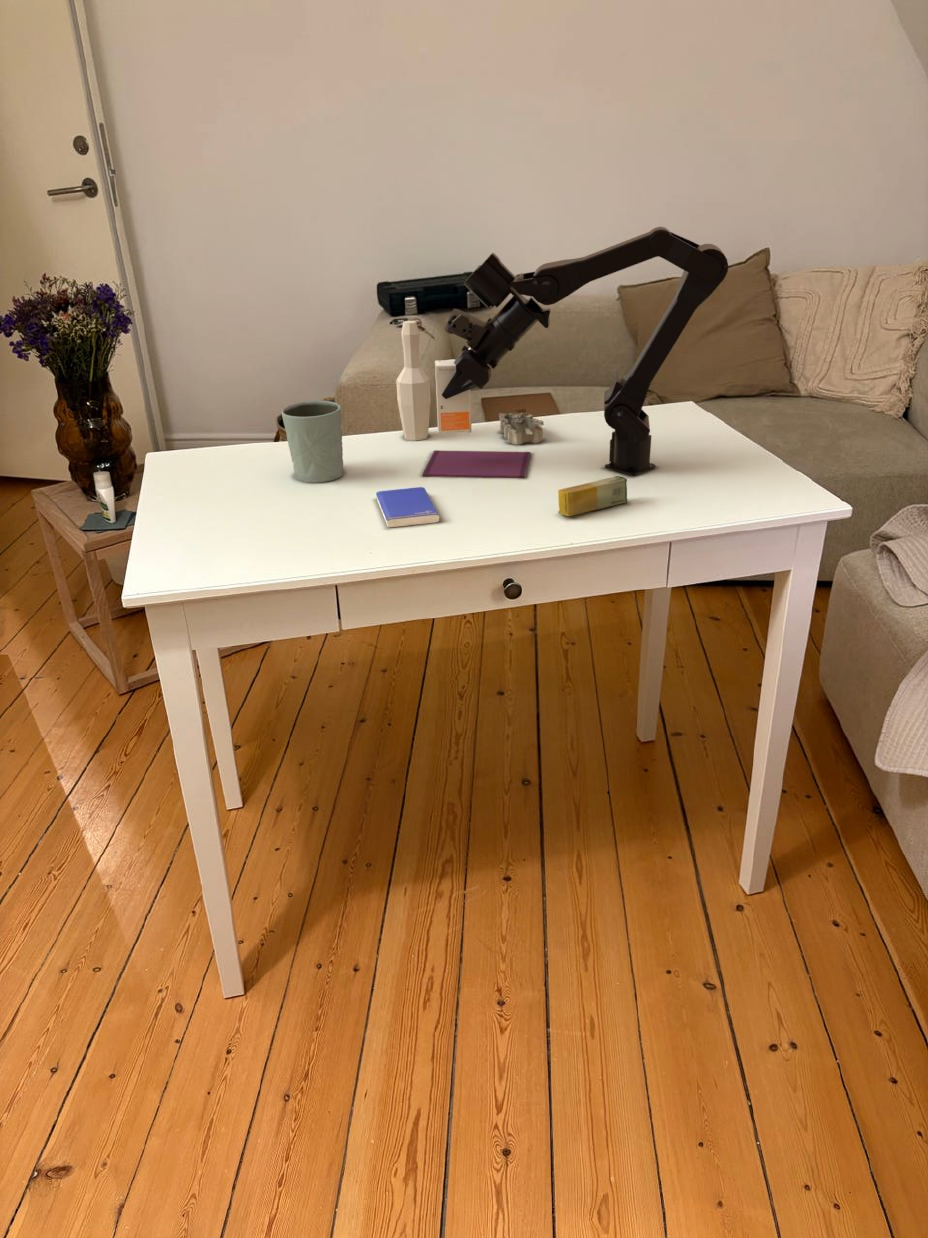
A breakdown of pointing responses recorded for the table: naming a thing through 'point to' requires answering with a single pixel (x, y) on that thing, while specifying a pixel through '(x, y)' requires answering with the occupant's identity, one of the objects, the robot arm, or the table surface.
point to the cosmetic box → (451, 401)
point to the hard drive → (407, 507)
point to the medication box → (592, 496)
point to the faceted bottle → (413, 387)
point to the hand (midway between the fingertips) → (445, 393)
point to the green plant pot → (315, 440)
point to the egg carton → (521, 428)
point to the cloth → (477, 464)
